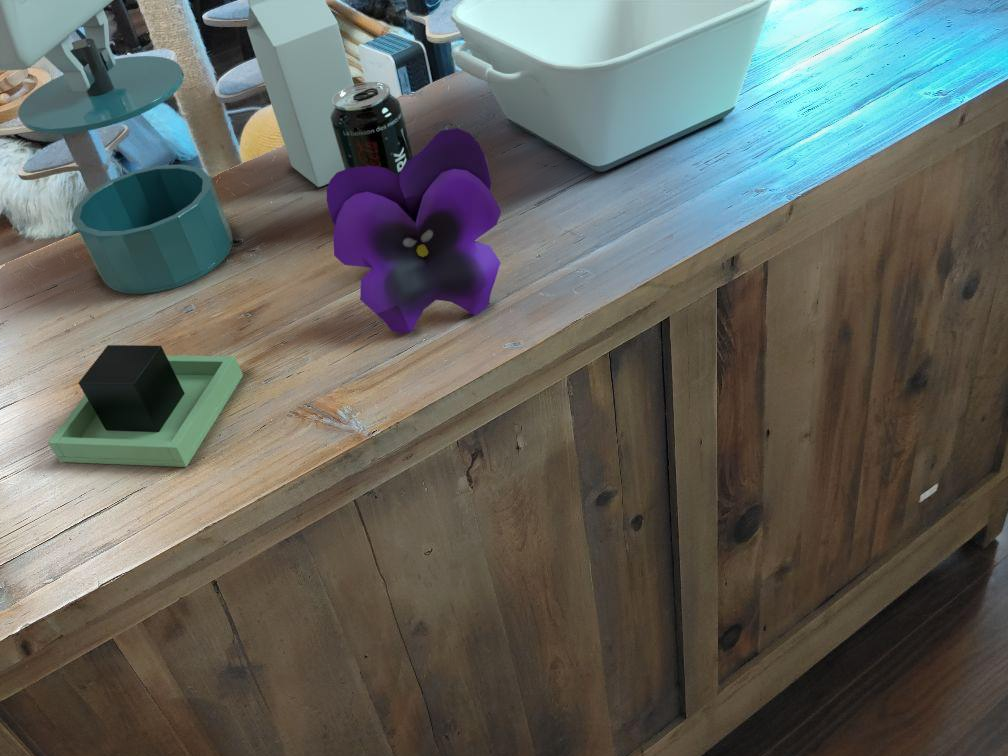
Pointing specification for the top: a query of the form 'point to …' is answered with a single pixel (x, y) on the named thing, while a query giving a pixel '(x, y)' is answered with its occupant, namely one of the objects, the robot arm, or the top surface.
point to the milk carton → (302, 78)
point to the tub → (610, 68)
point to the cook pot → (154, 228)
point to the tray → (179, 436)
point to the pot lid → (101, 93)
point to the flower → (419, 229)
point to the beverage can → (370, 127)
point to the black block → (132, 388)
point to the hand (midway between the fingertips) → (94, 79)
